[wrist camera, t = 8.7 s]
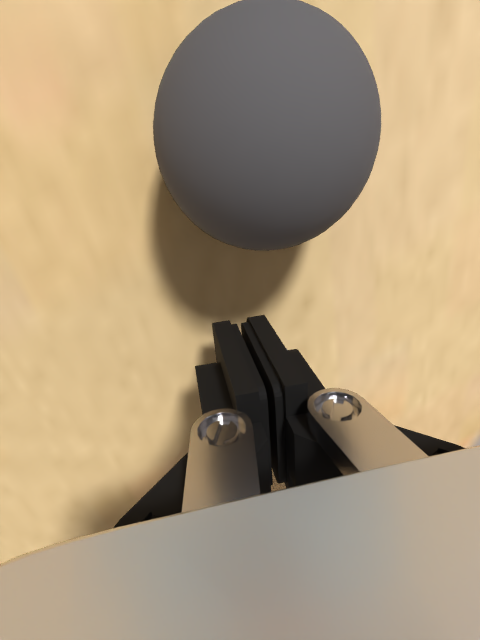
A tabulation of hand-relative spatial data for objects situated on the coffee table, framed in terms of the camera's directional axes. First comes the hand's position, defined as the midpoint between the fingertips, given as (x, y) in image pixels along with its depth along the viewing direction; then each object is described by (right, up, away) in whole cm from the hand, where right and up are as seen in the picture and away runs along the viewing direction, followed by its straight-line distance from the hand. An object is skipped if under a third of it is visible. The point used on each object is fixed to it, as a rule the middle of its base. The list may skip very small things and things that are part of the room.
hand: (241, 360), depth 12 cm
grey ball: (+1, +5, -3) cm, 6 cm away
